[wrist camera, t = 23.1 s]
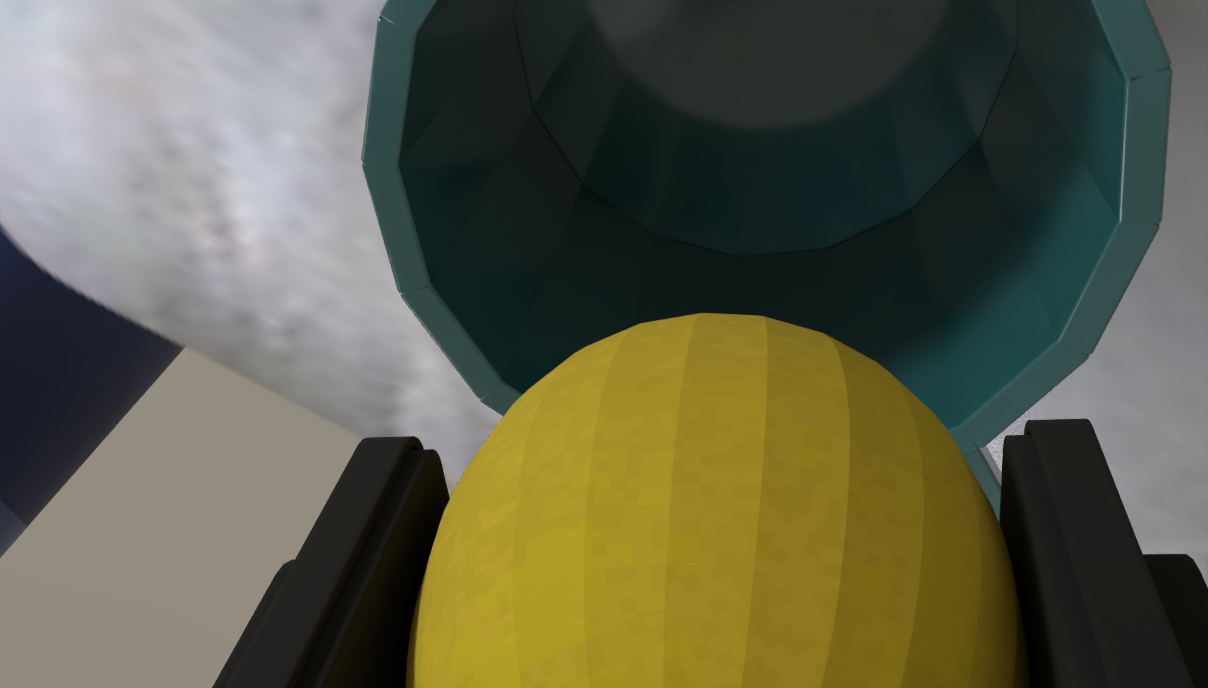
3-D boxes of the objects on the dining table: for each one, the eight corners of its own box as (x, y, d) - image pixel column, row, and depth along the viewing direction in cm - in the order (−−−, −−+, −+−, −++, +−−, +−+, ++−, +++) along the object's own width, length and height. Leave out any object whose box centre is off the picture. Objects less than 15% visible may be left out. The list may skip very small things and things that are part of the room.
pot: (712, 410, 35) (685, 672, 26) (324, -173, 28) (102, -93, 19) (1168, 212, 30) (1331, 451, 21) (833, -559, 23) (861, -699, 14)
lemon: (901, 602, 16) (990, 1337, 9) (498, 531, 16) (280, 1186, 9) (1024, 233, 13) (1296, 898, 6) (527, 155, 13) (242, 703, 6)
